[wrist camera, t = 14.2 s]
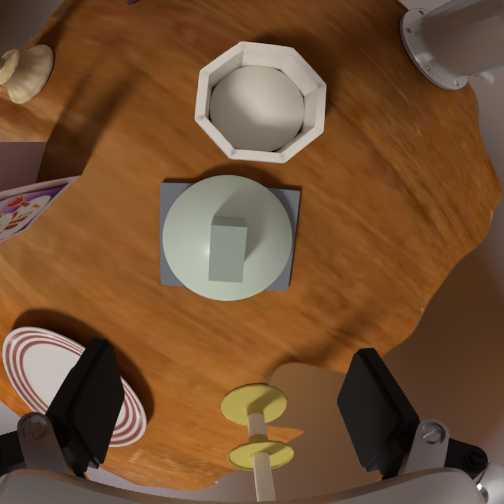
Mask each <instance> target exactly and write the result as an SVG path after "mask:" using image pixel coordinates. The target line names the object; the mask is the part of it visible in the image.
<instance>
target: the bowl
mask: <svg viewBox="0 0 504 504" xmlns="http://www.w3.org/2000/svg"><path fill="white" fill-rule="evenodd" d="M241 67H242V68H241ZM215 86H216V87H215ZM214 87H215V89H214V91H213V93H212V89H213V88H214ZM211 96H212V97H211ZM302 97H303V98H302ZM325 101H326V84H325V83H324V81H323V80H322V79H321V78H320V77H319V76H318V74H317V73H316V72H315V71H314V70H313V69H312V68H311V66H310V65H309V64H308V63H307V62H306V61H305V60H304V59H303V58H302V57H301V56H300V55H299V54H298V52H297V51H296V50H295V49H294V48H291V47H285V46H278V45H270V44H262V43H252V42H240V43H238V44H237V45H235V46H234V47H232V48H231V49H229V50H228V51H226V52H225V53H224V54H222V55H221V56H219V57H218V58H217V59H215V60H214V61H212V62H211V63H210V64H208V65H207V66H206V67H204V68H203V69H202V70H200V75H199V83H198V92H197V101H196V110H195V121H196V122H197V123H198V124H199V126H200V127H201V128H202V129H203V130H204V131H205V132H206V133H207V135H208V136H209V137H210V138H211V139H212V140H213V141H214V142H215V143H216V144H217V146H218V147H219V148H220V149H221V150H222V151H223V152H224V153H225V154H226V156H227V157H228V158H229V159H233V160H247V161H260V162H271V163H285V162H286V161H287V160H289V159H290V158H291V157H292V156H294V155H295V154H296V153H297V152H299V151H300V150H301V149H302V148H304V147H305V146H306V145H307V144H309V143H310V142H311V141H313V140H314V139H315V138H316V137H318V136H319V135H320V134H321V133H323V130H324V117H325ZM210 116H211V120H212V123H213V125H214V126H213V125H212V124H211V122H210V121H209V117H210ZM300 127H301V131H300V133H299V134H298V135H296V134H297V133H298V131H299V130H300ZM295 135H296V136H295ZM233 147H234V148H236V149H234V148H233ZM279 148H280V149H279ZM276 149H279V150H277V151H276V152H275V153H273V152H270V151H273V150H276Z"/></svg>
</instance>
